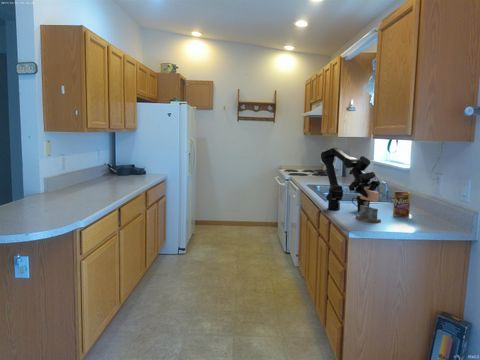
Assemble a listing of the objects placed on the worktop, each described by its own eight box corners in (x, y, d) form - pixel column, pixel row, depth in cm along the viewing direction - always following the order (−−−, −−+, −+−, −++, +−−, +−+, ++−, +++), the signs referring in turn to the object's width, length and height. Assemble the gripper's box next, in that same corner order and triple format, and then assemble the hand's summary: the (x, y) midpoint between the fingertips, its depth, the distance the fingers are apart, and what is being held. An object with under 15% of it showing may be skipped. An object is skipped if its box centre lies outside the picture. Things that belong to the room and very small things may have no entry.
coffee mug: (369, 210, 251) (370, 194, 249) (370, 212, 242) (371, 197, 241) (351, 208, 254) (351, 193, 253) (351, 211, 246) (352, 195, 244)
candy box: (392, 216, 233) (394, 191, 232) (393, 214, 237) (395, 190, 235) (408, 217, 229) (410, 192, 227) (409, 216, 233) (411, 191, 231)
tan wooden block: (360, 198, 225) (360, 189, 224) (363, 198, 226) (364, 189, 225) (374, 202, 214) (375, 192, 213) (378, 201, 215) (378, 192, 214)
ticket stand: (355, 218, 226) (356, 205, 225) (364, 217, 229) (365, 204, 228) (370, 223, 214) (371, 209, 213) (380, 222, 217) (381, 209, 216)
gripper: (353, 167, 218) (365, 189, 209) (378, 166, 225) (391, 188, 216) (343, 179, 226) (354, 201, 217) (368, 178, 233) (380, 199, 224)
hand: (370, 197), depth 218 cm, fingers open, 5 cm apart
